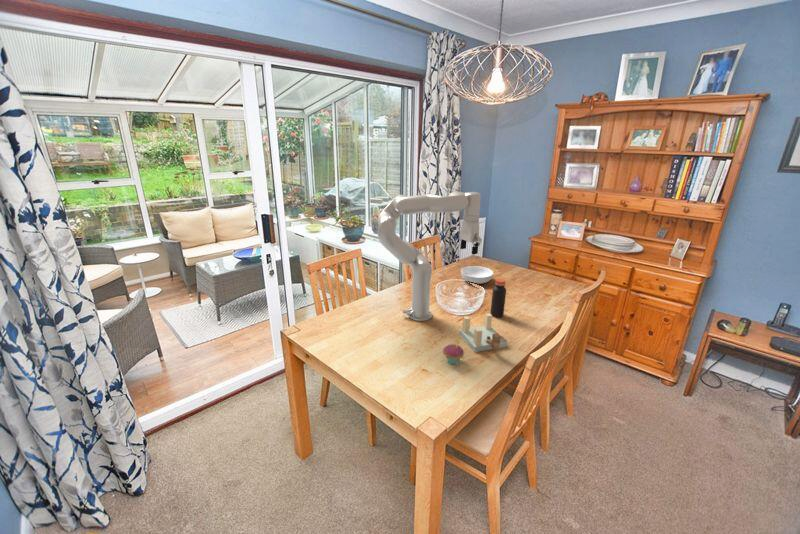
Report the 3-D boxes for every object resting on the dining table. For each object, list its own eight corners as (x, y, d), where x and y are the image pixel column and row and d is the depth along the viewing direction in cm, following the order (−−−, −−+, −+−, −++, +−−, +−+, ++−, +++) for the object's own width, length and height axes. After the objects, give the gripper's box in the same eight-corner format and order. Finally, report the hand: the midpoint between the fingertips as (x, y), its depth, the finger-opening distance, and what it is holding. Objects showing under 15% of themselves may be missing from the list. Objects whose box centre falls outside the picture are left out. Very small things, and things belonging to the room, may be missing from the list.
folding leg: (484, 341, 158) (486, 327, 156) (489, 340, 159) (491, 326, 157) (494, 350, 151) (495, 336, 149) (499, 350, 152) (500, 335, 149)
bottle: (504, 313, 189) (508, 279, 182) (501, 318, 184) (505, 283, 177) (492, 310, 192) (496, 276, 185) (488, 315, 187) (492, 281, 180)
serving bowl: (455, 277, 239) (455, 267, 237) (482, 273, 245) (483, 264, 242) (469, 288, 220) (470, 278, 218) (498, 285, 226) (499, 275, 224)
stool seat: (474, 352, 155) (476, 333, 152) (458, 333, 169) (460, 316, 166) (506, 346, 159) (508, 327, 156) (488, 329, 174) (490, 311, 170)
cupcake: (460, 355, 153) (462, 331, 149) (464, 367, 145) (467, 342, 141) (441, 355, 152) (442, 331, 148) (444, 367, 144) (445, 342, 140)
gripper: (454, 215, 177) (453, 247, 183) (475, 222, 162) (472, 257, 168) (467, 214, 180) (464, 245, 186) (488, 220, 165) (485, 255, 171)
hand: (468, 251), depth 177 cm, fingers open, 9 cm apart
